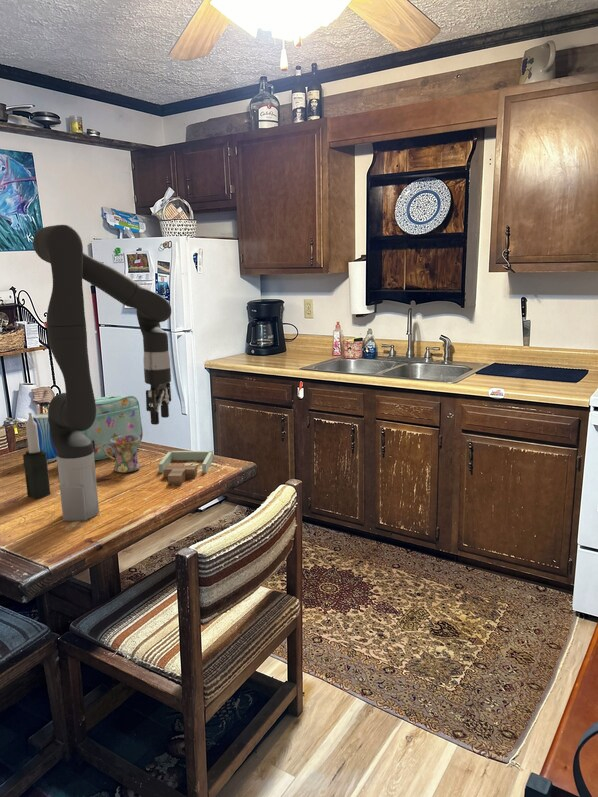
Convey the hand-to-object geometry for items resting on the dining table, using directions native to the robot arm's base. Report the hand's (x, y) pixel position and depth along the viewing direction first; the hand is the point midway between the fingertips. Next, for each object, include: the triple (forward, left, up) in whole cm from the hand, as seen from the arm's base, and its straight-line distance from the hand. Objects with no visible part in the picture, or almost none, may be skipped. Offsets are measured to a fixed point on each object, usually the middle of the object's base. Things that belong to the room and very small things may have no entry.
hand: (160, 420), depth 174 cm
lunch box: (+34, +29, -21) cm, 49 cm away
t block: (+7, -3, -21) cm, 22 cm away
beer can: (+27, +48, -21) cm, 59 cm away
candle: (-6, +36, -21) cm, 42 cm away
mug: (+16, +18, -21) cm, 32 cm away
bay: (+20, -3, -21) cm, 29 cm away
